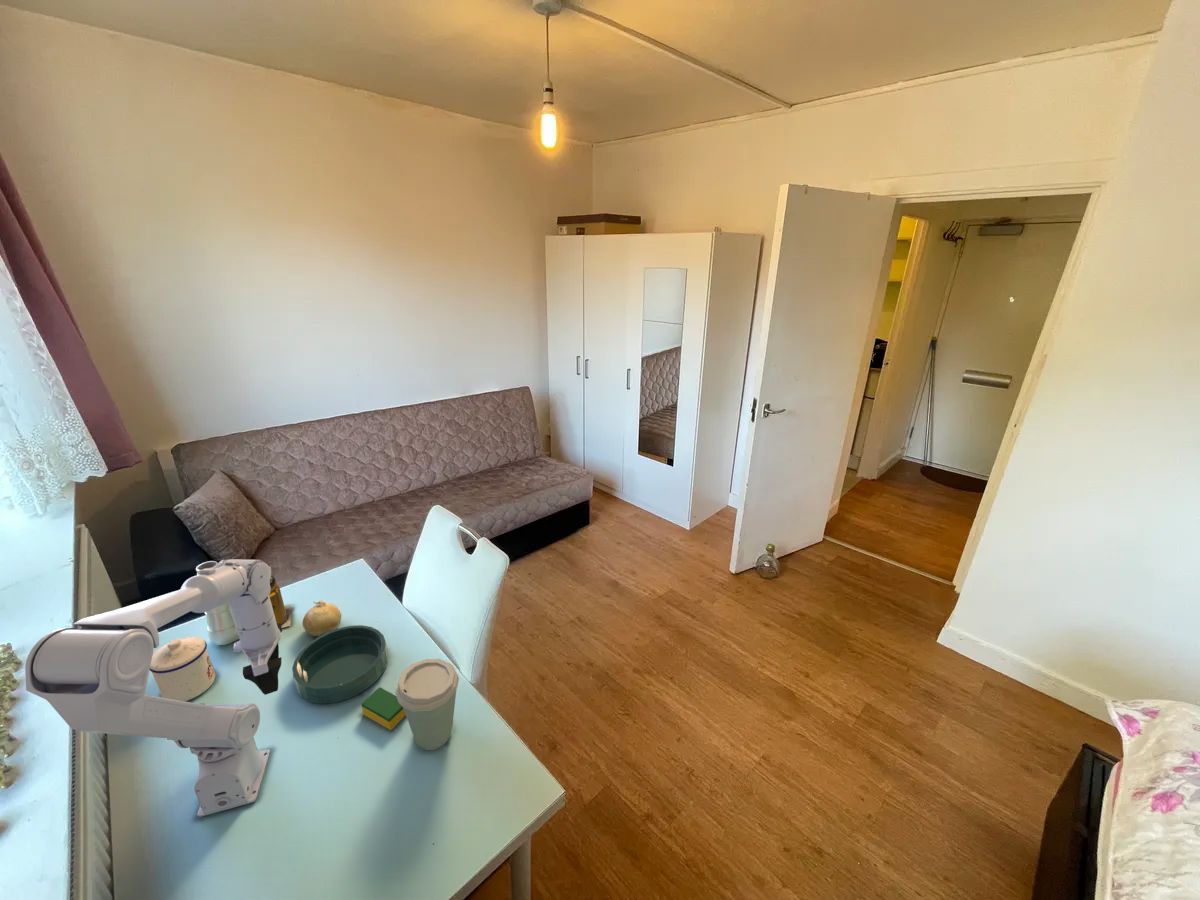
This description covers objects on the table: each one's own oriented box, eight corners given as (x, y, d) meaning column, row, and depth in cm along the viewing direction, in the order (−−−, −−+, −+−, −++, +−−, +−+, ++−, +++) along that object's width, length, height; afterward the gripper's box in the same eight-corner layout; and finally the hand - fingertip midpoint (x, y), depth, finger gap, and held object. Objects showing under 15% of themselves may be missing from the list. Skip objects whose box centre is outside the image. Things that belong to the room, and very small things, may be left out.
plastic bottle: (214, 633, 114) (191, 561, 106) (249, 625, 117) (228, 554, 109) (207, 652, 108) (182, 577, 101) (244, 643, 111) (222, 570, 104)
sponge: (408, 712, 96) (407, 701, 95) (390, 730, 92) (388, 719, 91) (381, 697, 99) (379, 686, 98) (363, 714, 95) (360, 703, 94)
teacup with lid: (225, 682, 101) (210, 638, 97) (170, 713, 94) (152, 667, 90) (201, 656, 107) (186, 614, 103) (148, 684, 100) (130, 639, 96)
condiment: (254, 636, 113) (241, 594, 109) (257, 613, 120) (246, 573, 116) (290, 626, 117) (279, 585, 112) (292, 605, 124) (282, 565, 119)
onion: (350, 623, 118) (345, 599, 116) (322, 645, 111) (316, 620, 109) (326, 614, 121) (321, 590, 118) (297, 635, 114) (291, 611, 111)
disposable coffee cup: (442, 701, 98) (435, 644, 93) (475, 733, 92) (470, 673, 87) (393, 738, 91) (382, 677, 85) (425, 775, 84) (416, 712, 79)
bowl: (385, 692, 100) (382, 676, 98) (287, 715, 94) (283, 698, 93) (390, 633, 115) (387, 618, 114) (305, 650, 110) (302, 634, 108)
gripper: (230, 602, 90) (248, 658, 95) (222, 654, 79) (243, 715, 84) (275, 590, 94) (290, 645, 99) (274, 639, 82) (291, 698, 87)
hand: (271, 676), depth 91 cm, fingers open, 7 cm apart
